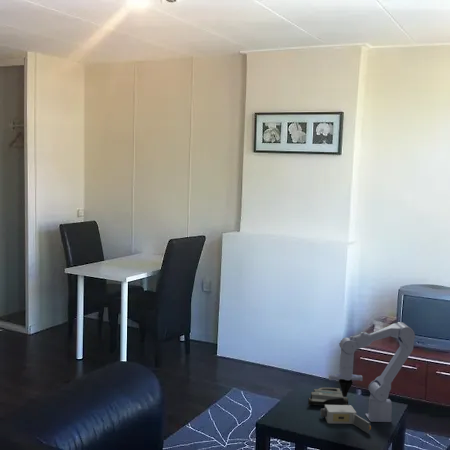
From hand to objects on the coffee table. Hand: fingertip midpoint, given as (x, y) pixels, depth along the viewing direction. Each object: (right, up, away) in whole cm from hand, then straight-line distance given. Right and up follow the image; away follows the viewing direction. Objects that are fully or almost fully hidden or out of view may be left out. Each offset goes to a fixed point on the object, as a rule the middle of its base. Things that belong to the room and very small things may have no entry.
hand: (344, 396), depth 264 cm
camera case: (-2, -10, -1) cm, 10 cm away
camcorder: (-4, -8, +19) cm, 21 cm away
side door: (+5, -11, -10) cm, 15 cm away
